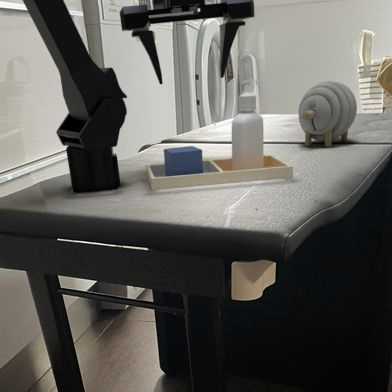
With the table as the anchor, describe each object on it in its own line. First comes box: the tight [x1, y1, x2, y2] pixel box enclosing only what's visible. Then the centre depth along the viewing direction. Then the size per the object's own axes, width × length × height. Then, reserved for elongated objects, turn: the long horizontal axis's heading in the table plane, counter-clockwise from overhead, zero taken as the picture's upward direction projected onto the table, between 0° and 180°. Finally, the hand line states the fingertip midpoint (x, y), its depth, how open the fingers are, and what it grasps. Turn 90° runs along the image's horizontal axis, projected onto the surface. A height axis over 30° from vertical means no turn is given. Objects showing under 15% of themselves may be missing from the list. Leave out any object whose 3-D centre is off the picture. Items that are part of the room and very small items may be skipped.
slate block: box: [163, 145, 204, 177], centre depth 79 cm, size 4×4×4 cm
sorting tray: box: [145, 154, 294, 191], centre depth 81 cm, size 20×11×2 cm, turn 99°
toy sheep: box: [298, 80, 358, 148], centre depth 104 cm, size 11×17×11 cm, turn 148°
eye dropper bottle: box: [231, 84, 264, 171], centre depth 79 cm, size 4×6×12 cm
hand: (191, 81), depth 82 cm, fingers open, 9 cm apart
